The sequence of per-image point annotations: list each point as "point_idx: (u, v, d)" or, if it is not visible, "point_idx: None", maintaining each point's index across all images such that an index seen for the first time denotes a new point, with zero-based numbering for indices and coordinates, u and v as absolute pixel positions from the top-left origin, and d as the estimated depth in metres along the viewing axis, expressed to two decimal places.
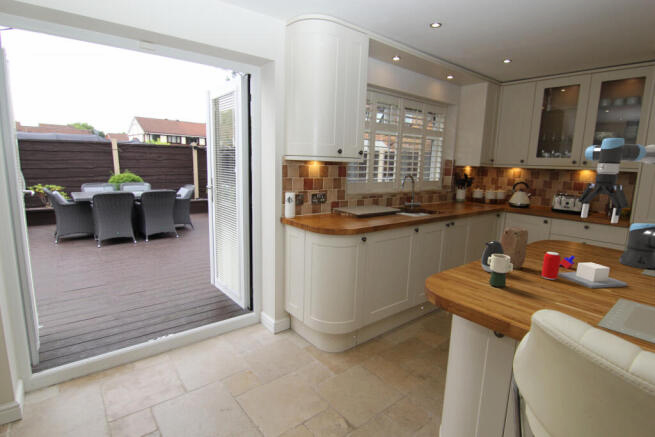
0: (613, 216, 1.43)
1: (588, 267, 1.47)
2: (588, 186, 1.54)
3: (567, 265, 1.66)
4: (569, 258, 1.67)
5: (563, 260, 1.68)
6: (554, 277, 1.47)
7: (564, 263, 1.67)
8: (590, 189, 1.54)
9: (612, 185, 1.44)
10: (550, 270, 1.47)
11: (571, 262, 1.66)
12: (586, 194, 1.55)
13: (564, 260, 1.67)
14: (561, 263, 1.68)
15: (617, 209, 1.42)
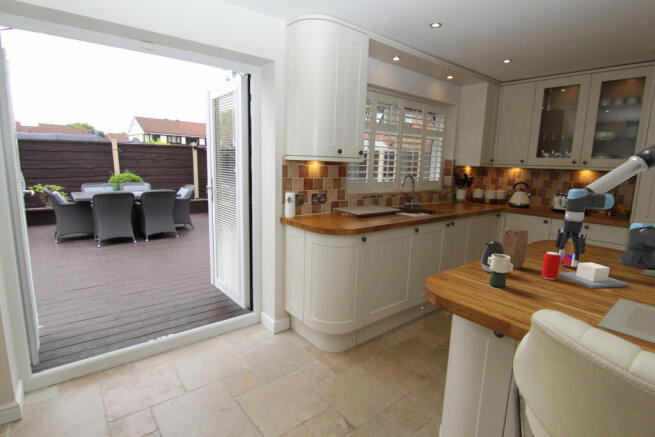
0: (573, 260, 1.64)
1: (588, 267, 1.47)
2: (559, 232, 1.71)
3: (569, 262, 1.66)
4: (571, 255, 1.66)
5: (565, 257, 1.67)
6: (554, 277, 1.47)
7: (566, 260, 1.67)
8: (561, 234, 1.71)
9: (578, 232, 1.61)
10: (550, 270, 1.47)
11: None
12: (560, 239, 1.71)
13: (566, 257, 1.67)
14: (563, 260, 1.68)
15: (576, 255, 1.63)
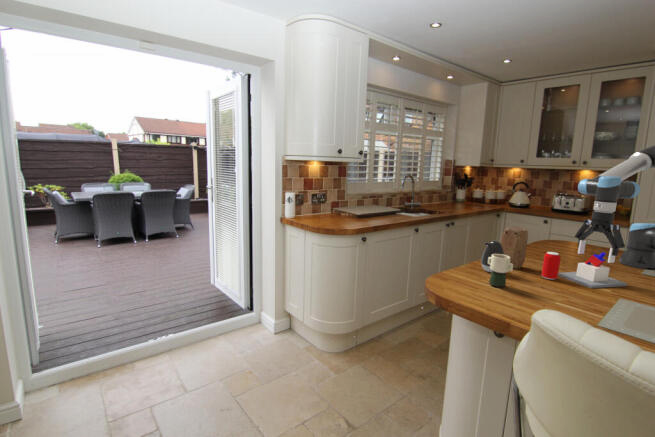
0: (610, 256, 1.41)
1: (588, 267, 1.47)
2: (585, 223, 1.51)
3: (597, 263, 1.46)
4: (599, 255, 1.47)
5: (592, 257, 1.47)
6: (554, 277, 1.47)
7: (593, 261, 1.47)
8: (587, 225, 1.51)
9: (609, 224, 1.41)
10: (550, 270, 1.47)
11: (601, 259, 1.46)
12: (583, 230, 1.53)
13: (593, 257, 1.47)
14: (590, 260, 1.48)
15: (614, 249, 1.40)
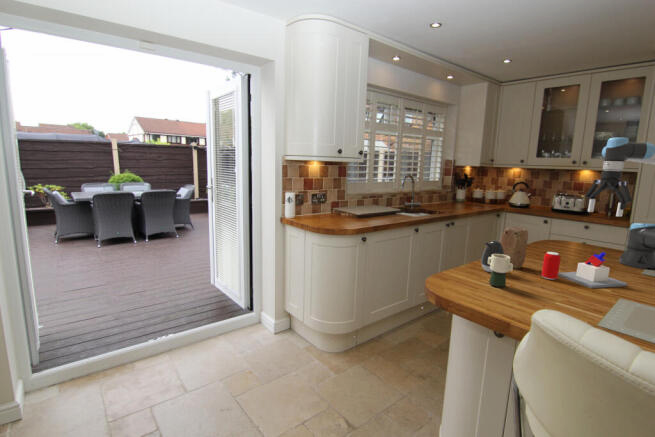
0: (618, 210, 1.54)
1: (588, 267, 1.47)
2: (594, 182, 1.65)
3: (597, 263, 1.46)
4: (599, 255, 1.47)
5: (592, 257, 1.47)
6: (554, 277, 1.47)
7: (593, 261, 1.47)
8: (596, 185, 1.65)
9: (617, 181, 1.55)
10: (550, 270, 1.47)
11: (601, 259, 1.46)
12: (592, 190, 1.66)
13: (593, 257, 1.47)
14: (590, 260, 1.48)
15: (622, 203, 1.53)
